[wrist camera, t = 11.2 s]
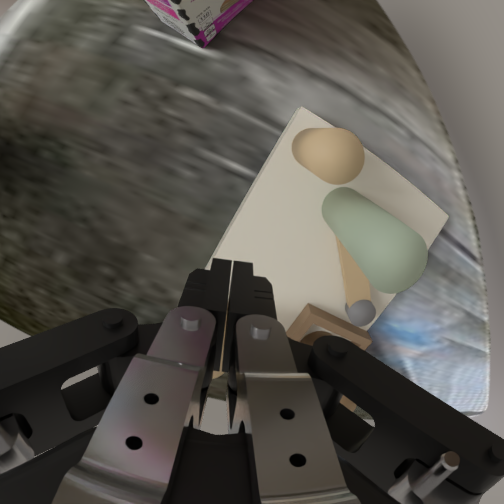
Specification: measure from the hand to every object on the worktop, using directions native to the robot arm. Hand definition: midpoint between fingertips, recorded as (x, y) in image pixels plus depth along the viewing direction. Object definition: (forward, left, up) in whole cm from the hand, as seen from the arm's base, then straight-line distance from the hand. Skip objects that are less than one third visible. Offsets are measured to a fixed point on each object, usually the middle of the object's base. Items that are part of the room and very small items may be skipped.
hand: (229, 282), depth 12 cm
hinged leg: (+10, +1, -12) cm, 16 cm away
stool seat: (+8, -2, -15) cm, 17 cm away
